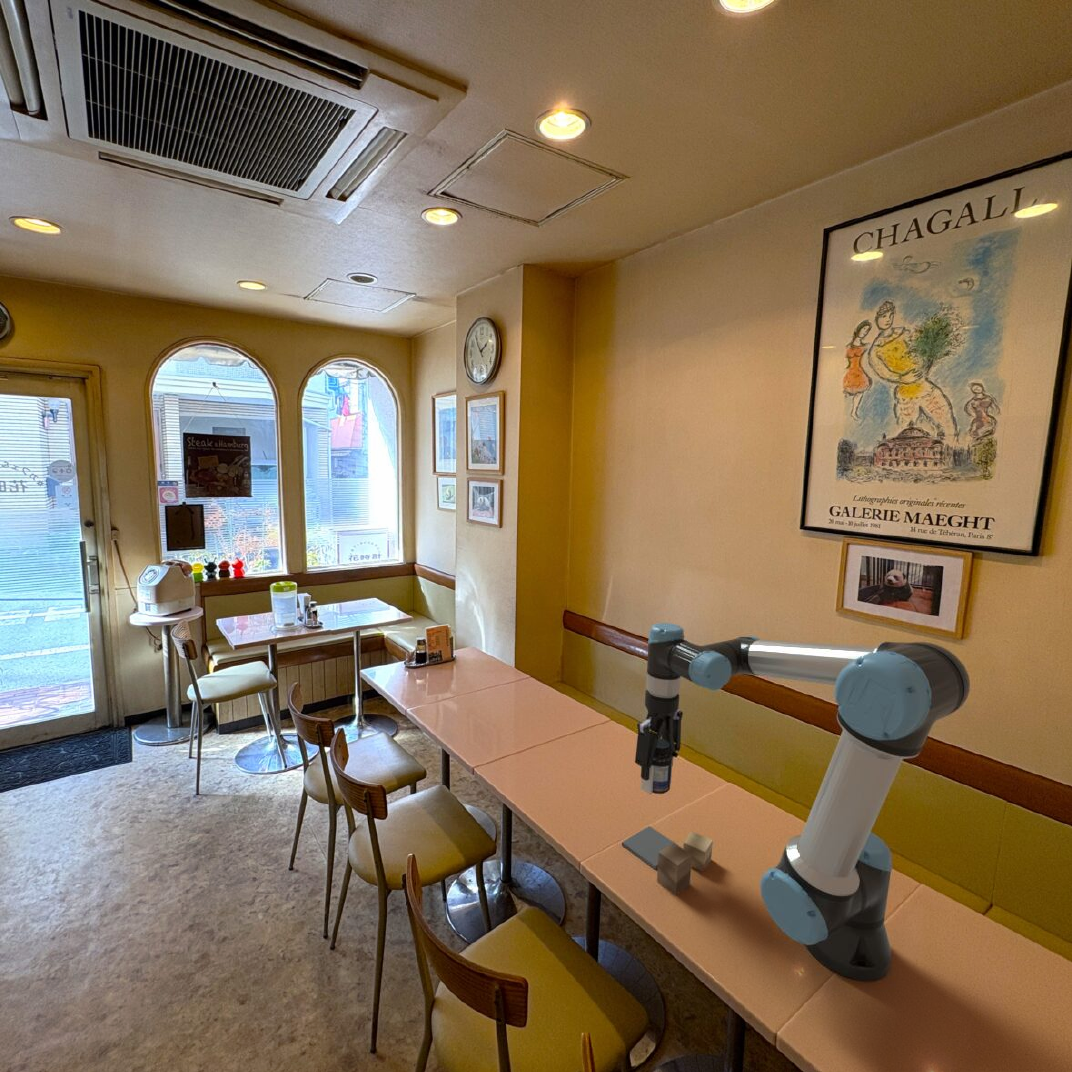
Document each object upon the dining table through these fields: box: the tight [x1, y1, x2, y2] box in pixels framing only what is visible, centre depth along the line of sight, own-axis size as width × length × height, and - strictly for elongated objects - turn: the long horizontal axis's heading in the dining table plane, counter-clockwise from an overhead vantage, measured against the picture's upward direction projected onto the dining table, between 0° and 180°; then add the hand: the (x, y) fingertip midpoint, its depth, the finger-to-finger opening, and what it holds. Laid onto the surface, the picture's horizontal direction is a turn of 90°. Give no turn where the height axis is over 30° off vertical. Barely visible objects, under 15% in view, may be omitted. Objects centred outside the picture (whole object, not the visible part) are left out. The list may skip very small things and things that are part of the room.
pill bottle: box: [652, 737, 673, 795], centre depth 131 cm, size 6×6×11 cm
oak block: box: [682, 831, 714, 872], centre depth 130 cm, size 5×5×5 cm
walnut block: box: [656, 842, 692, 896], centre depth 123 cm, size 5×5×7 cm
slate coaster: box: [621, 825, 683, 870], centre depth 134 cm, size 10×10×1 cm
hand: (656, 785), depth 132 cm, fingers closed on pill bottle, 6 cm apart
